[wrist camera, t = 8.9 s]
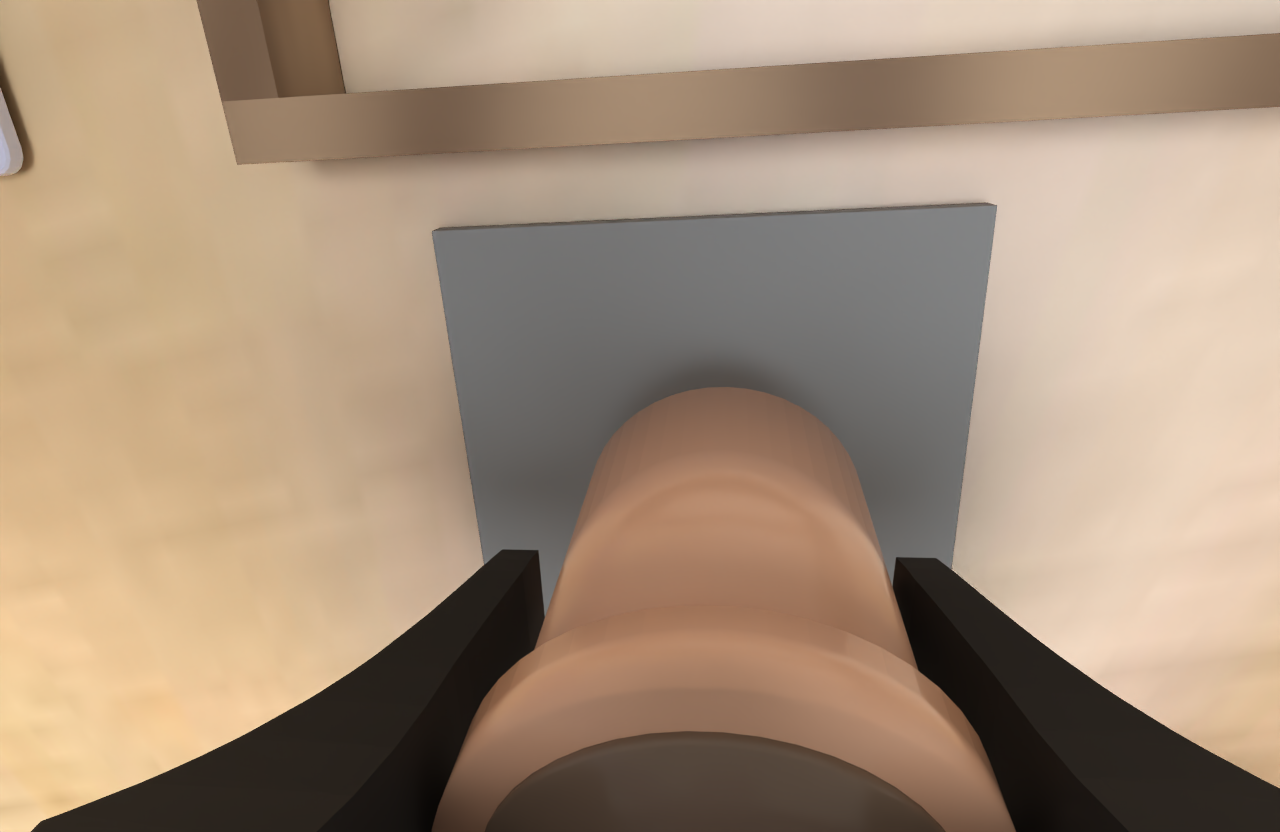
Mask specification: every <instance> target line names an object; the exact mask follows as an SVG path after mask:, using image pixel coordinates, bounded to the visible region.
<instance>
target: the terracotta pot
mask: <svg viewBox="0 0 1280 832" xmlns="http://www.w3.org/2000/svg"><path fill="white" fill-rule="evenodd" d="M432 832H1016V830H1015V827H1014V825H1013V822H1012V819H1011V817H1010V814H1009V811H1008V809H1007V806H1006V803H1005V801H1004V798H1003V795H1002V792H1001V790H1000V787H999V784H998V782H997V779H996V776H995V774H994V771H993V768H992V766H991V763H990V760H989V758H988V756H987V754H986V751H985V749H984V747H983V745H982V743H981V740H980V738H979V736H978V734H977V733H976V731H975V730H974V728H973V727H972V726H971V724H970V723H969V721H968V720H967V718H966V717H965V715H964V714H963V712H962V711H961V710H960V709H959V708H958V707H957V706H956V705H955V704H954V702H953V701H952V700H951V699H950V698H949V697H948V696H947V695H946V694H945V693H944V692H943V691H942V690H941V689H940V688H939V687H938V686H937V685H936V684H934V683H933V682H932V681H930V680H929V679H928V678H927V677H925V676H924V675H923V674H922V673H920V672H919V671H918V668H917V664H916V661H915V658H914V655H913V652H912V648H911V645H910V642H909V639H908V635H907V632H906V629H905V626H904V623H903V619H902V616H901V613H900V610H899V607H898V603H897V600H896V597H895V594H894V590H893V587H892V584H891V581H890V578H889V574H888V571H887V568H886V565H885V561H884V558H883V555H882V552H881V549H880V545H879V542H878V539H877V536H876V533H875V529H874V526H873V523H872V520H871V516H870V513H869V510H868V507H867V504H866V500H865V497H864V494H863V491H862V487H861V484H860V481H859V478H858V475H857V471H856V469H855V467H854V464H853V462H852V460H851V458H850V456H849V454H848V452H847V451H846V449H845V448H844V446H843V445H842V443H841V442H840V440H839V439H838V438H837V437H836V436H835V435H834V434H833V432H832V431H831V430H830V429H829V428H828V427H827V426H826V425H824V424H823V423H822V422H821V421H820V420H819V419H817V418H816V417H815V416H813V415H812V414H810V413H809V412H807V411H806V410H804V409H803V408H801V407H800V406H798V405H795V404H793V403H791V402H789V401H787V400H785V399H783V398H780V397H777V396H774V395H771V394H768V393H765V392H760V391H756V390H751V389H746V388H734V387H710V388H702V389H695V390H689V391H685V392H682V393H678V394H675V395H671V396H669V397H666V398H664V399H662V400H659V401H657V402H655V403H653V404H651V405H649V406H648V407H646V408H644V409H642V410H641V411H639V412H638V413H636V414H635V415H634V416H632V417H631V418H630V419H629V420H627V421H626V422H625V423H624V424H623V425H622V426H621V427H620V428H619V429H618V430H617V431H616V432H615V433H614V434H613V436H612V437H611V438H610V440H609V441H608V443H607V444H606V445H605V447H604V449H603V451H602V452H601V454H600V456H599V458H598V460H597V463H596V466H595V469H594V472H593V475H592V478H591V481H590V484H589V487H588V490H587V493H586V496H585V499H584V502H583V505H582V508H581V511H580V514H579V517H578V520H577V523H576V526H575V529H574V532H573V535H572V538H571V541H570V544H569V547H568V550H567V553H566V556H565V559H564V562H563V565H562V568H561V571H560V574H559V577H558V580H557V583H556V586H555V589H554V592H553V595H552V598H551V601H550V604H549V607H548V610H547V613H546V616H545V619H544V622H543V625H542V628H541V631H540V634H539V637H538V640H537V643H536V646H535V649H534V651H532V652H531V653H529V654H528V655H526V656H525V657H523V658H522V659H520V660H519V661H518V662H517V663H516V664H515V665H514V666H512V667H511V668H510V669H509V670H508V671H507V672H506V673H505V674H504V675H503V676H501V677H500V678H499V679H498V681H497V682H496V683H495V685H494V686H493V687H492V688H491V690H490V691H489V692H488V694H487V695H486V696H485V697H484V699H483V700H482V702H481V704H480V706H479V708H478V710H477V712H476V714H475V716H474V718H473V719H472V722H471V724H470V727H469V729H468V732H467V734H466V737H465V739H464V742H463V744H462V747H461V750H460V752H459V755H458V757H457V760H456V762H455V765H454V767H453V770H452V773H451V775H450V778H449V780H448V783H447V785H446V788H445V790H444V793H443V796H442V798H441V801H440V803H439V806H438V809H437V813H436V816H435V820H434V823H433V827H432Z"/></svg>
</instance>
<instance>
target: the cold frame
mask: <svg viewBox="0 0 1280 832" xmlns="http://www.w3.org/2000/svg"><path fill="white" fill-rule="evenodd" d="M197 4H198V8H199V12H200V16H201V20H202V24H203V28H204V32H205V36H206V40H207V44H208V48H209V52H210V56H211V60H212V64H213V68H214V72H215V76H216V81H217V85H218V89H219V93H220V97H221V101H222V105H223V109H224V113H225V117H226V121H227V125H228V129H229V133H230V137H231V141H232V145H233V149H234V153H235V157H236V161H237V165H241V164H259V163H276V162H294V161H312V160H330V159H348V158H366V157H384V156H402V155H420V154H438V153H456V152H474V151H492V150H510V149H528V148H546V147H564V146H582V145H600V144H618V143H636V142H654V141H672V140H690V139H708V138H726V137H744V136H762V135H780V134H797V133H815V132H833V131H851V130H869V129H887V128H905V127H923V126H941V125H959V124H977V123H995V122H1013V121H1031V120H1049V119H1067V118H1085V117H1103V116H1121V115H1139V114H1157V113H1175V112H1193V111H1211V110H1229V109H1247V108H1265V107H1280V33H1278V34H1262V35H1247V36H1231V37H1216V38H1200V39H1185V40H1169V41H1154V42H1138V43H1123V44H1107V45H1092V46H1076V47H1060V48H1045V49H1029V50H1014V51H998V52H983V53H967V54H952V55H936V56H921V57H905V58H890V59H874V60H859V61H843V62H828V63H812V64H797V65H781V66H766V67H750V68H735V69H719V70H704V71H688V72H673V73H657V74H641V75H626V76H610V77H595V78H579V79H564V80H548V81H533V82H517V83H502V84H486V85H471V86H455V87H440V88H424V89H409V90H393V91H378V92H362V93H347V94H345V90H344V84H343V79H342V74H341V68H340V63H339V58H338V52H337V47H336V42H335V36H334V31H333V26H332V20H331V15H330V10H329V4H328V0H197Z"/></svg>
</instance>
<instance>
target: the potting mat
mask: <svg viewBox="0 0 1280 832" xmlns="http://www.w3.org/2000/svg"><path fill="white" fill-rule="evenodd" d="M996 211H997V205H993V204H990V203H973V204H952V205H930V206H908V207H886V208H864V209H842V210H820V211H798V212H777V213H755V214H733V215H711V216H689V217H667V218H645V219H624V220H602V221H580V222H558V223H536V224H514V225H492V226H471V227H449V228H439V229H436V230H433V231H432V236H433V242H434V249H435V255H436V261H437V268H438V274H439V281H440V287H441V293H442V300H443V306H444V312H445V319H446V325H447V331H448V338H449V344H450V350H451V357H452V363H453V370H454V376H455V382H456V389H457V395H458V401H459V408H460V414H461V420H462V427H463V433H464V439H465V446H466V452H467V459H468V465H469V471H470V478H471V484H472V490H473V497H474V503H475V509H476V516H477V522H478V528H479V535H480V541H481V548H482V554H483V560H484V565H485V564H486V563H487V562H488V561H489V560H490V559H491V558H493V557H494V556H495V555H496V554H497V553H499V552H500V551H501V550H502V549H510V550H539V561H540V572H541V582H542V593H543V603H544V614H545V616H546V613H547V610H548V607H549V604H550V601H551V598H552V595H553V592H554V589H555V586H556V583H557V580H558V577H559V574H560V571H561V568H562V565H563V562H564V559H565V556H566V553H567V550H568V547H569V544H570V541H571V538H572V535H573V532H574V529H575V526H576V523H577V520H578V517H579V514H580V511H581V508H582V505H583V502H584V499H585V496H586V493H587V490H588V487H589V484H590V481H591V478H592V475H593V472H594V469H595V466H596V463H597V460H598V458H599V456H600V454H601V452H602V451H603V449H604V447H605V445H606V444H607V443H608V441H609V440H610V438H611V437H612V436H613V434H614V433H615V432H616V431H617V430H618V429H619V428H620V427H621V426H622V425H623V424H624V423H625V422H626V421H627V420H629V419H630V418H631V417H632V416H634V415H635V414H636V413H638V412H639V411H641V410H642V409H644V408H646V407H648V406H649V405H651V404H653V403H655V402H657V401H659V400H662V399H664V398H666V397H669V396H671V395H675V394H678V393H682V392H685V391H689V390H695V389H702V388H710V387H734V388H746V389H751V390H756V391H760V392H765V393H768V394H771V395H774V396H777V397H780V398H783V399H785V400H787V401H789V402H791V403H793V404H795V405H798V406H800V407H801V408H803V409H804V410H806V411H807V412H809V413H810V414H812V415H813V416H815V417H816V418H817V419H819V420H820V421H821V422H822V423H823V424H824V425H826V426H827V427H828V428H829V429H830V430H831V431H832V432H833V434H834V435H835V436H836V437H837V438H838V439H839V440H840V442H841V443H842V445H843V446H844V448H845V449H846V451H847V452H848V454H849V456H850V458H851V460H852V462H853V464H854V467H855V469H856V471H857V475H858V478H859V481H860V484H861V487H862V491H863V494H864V497H865V500H866V504H867V507H868V510H869V513H870V516H871V520H872V523H873V526H874V529H875V533H876V536H877V539H878V542H879V545H880V549H881V552H882V555H883V558H884V561H885V565H886V568H887V571H888V574H889V578H890V581H891V584H892V585H893V577H894V569H895V561H896V557H915V558H937V559H938V560H940V561H941V562H942V563H943V564H945V565H946V566H947V567H949V568H950V569H951V567H952V559H953V551H954V543H955V536H956V528H957V520H958V512H959V504H960V496H961V488H962V480H963V472H964V464H965V456H966V448H967V440H968V433H969V425H970V417H971V409H972V401H973V393H974V385H975V377H976V369H977V361H978V353H979V345H980V337H981V330H982V322H983V314H984V306H985V298H986V290H987V282H988V274H989V266H990V258H991V250H992V242H993V235H994V227H995V219H996Z"/></svg>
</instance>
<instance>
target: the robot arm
mask: <svg viewBox="0 0 1280 832" xmlns="http://www.w3.org/2000/svg"><path fill="white" fill-rule="evenodd" d="M22 163H23V153H22V148H21V145H20V142H19V140H18V137H17V134H16V131H15V128H14V125H13V122H12V120H11V117H10V114H9V111H8V108H7V105H6V102H5V100H4V97H3V94H2V91H1V88H0V176H6V175H11V174H15V173H17V172H18V171H19V169H20V168H21V167H22ZM892 587H893V590H894V594H895V597H896V600H897V603H898V607H899V610H900V613H901V616H902V619H903V623H904V626H905V629H906V632H907V635H908V639H909V642H910V645H911V648H912V652H913V655H914V658H915V661H916V664H917V668H918V671H919V672H920V673H922V674H923V675H924V676H925V677H927V678H928V679H929V680H930V681H932V682H933V683H934V684H936V685H937V686H938V687H939V688H940V689H941V690H942V691H943V692H944V693H945V694H946V695H947V696H948V697H949V698H950V699H951V700H952V701H953V702H954V704H955V705H956V706H957V707H958V708H959V709H960V710H961V711H962V712H963V714H964V715H965V717H966V718H967V720H968V721H969V723H970V724H971V726H972V727H973V728H974V730H975V731H976V733H977V734H978V736H979V738H980V740H981V743H982V745H983V747H984V749H985V751H986V754H987V756H988V758H989V760H990V763H991V766H992V768H993V771H994V774H995V776H996V779H997V782H998V784H999V787H1000V790H1001V792H1002V795H1003V798H1004V801H1005V803H1006V806H1007V809H1008V811H1009V814H1010V817H1011V819H1012V822H1013V825H1014V827H1015V830H1016V832H1280V788H1278V787H1276V786H1274V785H1272V784H1270V783H1268V782H1266V781H1264V780H1262V779H1260V778H1258V777H1256V776H1254V775H1252V774H1251V773H1249V772H1247V771H1245V770H1243V769H1241V768H1239V767H1237V766H1236V765H1234V764H1232V763H1230V762H1228V761H1226V760H1224V759H1222V758H1221V757H1219V756H1217V755H1215V754H1213V753H1211V752H1209V751H1207V750H1206V749H1204V748H1202V747H1200V746H1199V745H1197V744H1195V743H1193V742H1191V741H1190V740H1188V739H1186V738H1184V737H1183V736H1181V735H1179V734H1177V733H1176V732H1174V731H1172V730H1171V729H1169V728H1167V727H1166V726H1164V725H1163V724H1161V723H1159V722H1158V721H1156V720H1154V719H1153V718H1151V717H1150V716H1148V715H1146V714H1145V713H1143V712H1142V711H1140V710H1138V709H1137V708H1135V707H1133V706H1132V705H1130V704H1129V703H1127V702H1125V701H1124V700H1122V699H1121V698H1119V697H1118V696H1116V695H1115V694H1113V693H1112V692H1110V691H1108V690H1107V689H1105V688H1104V687H1102V686H1101V685H1100V684H1098V683H1097V682H1095V681H1094V680H1092V679H1091V678H1090V677H1088V676H1087V675H1085V674H1084V673H1082V672H1081V671H1080V670H1078V669H1077V668H1075V667H1074V666H1073V665H1071V664H1070V663H1068V662H1067V661H1066V660H1064V659H1063V658H1061V657H1060V656H1059V655H1057V654H1056V653H1055V652H1053V651H1052V650H1051V649H1049V648H1048V647H1047V646H1045V645H1044V644H1043V643H1041V642H1040V641H1039V640H1037V639H1036V638H1035V637H1033V636H1032V635H1031V634H1030V633H1028V632H1027V631H1026V630H1024V629H1023V628H1022V627H1021V626H1019V625H1018V624H1017V623H1016V622H1014V621H1013V620H1012V619H1011V618H1009V617H1008V616H1007V615H1006V614H1004V613H1003V612H1002V611H1001V610H1000V609H998V608H997V607H996V606H995V605H993V604H992V603H991V602H990V601H989V600H987V599H986V598H985V597H984V596H983V595H981V594H980V593H979V592H978V591H977V590H975V589H974V588H973V587H972V586H970V585H969V584H968V583H967V582H966V581H964V580H963V579H962V578H961V577H960V576H958V575H957V574H956V573H955V572H954V571H952V570H951V569H950V568H949V567H947V566H946V565H945V564H943V563H942V562H941V561H940V560H938V559H937V558H915V557H896V561H895V569H894V577H893V585H892ZM544 619H545V614H544V603H543V593H542V582H541V572H540V561H539V550H510V549H502V550H501V551H500V552H499V553H497V554H496V555H495V556H494V557H493V558H491V559H490V560H489V561H488V562H487V563H486V564H485V565H484V566H482V567H481V568H480V569H479V570H478V571H477V572H476V573H475V574H474V575H472V576H471V577H470V578H469V579H468V580H467V581H466V582H465V583H464V584H462V585H461V586H460V587H459V588H458V589H457V590H456V591H454V592H453V593H452V594H451V595H450V596H449V597H447V598H446V599H445V600H444V601H443V602H442V603H440V604H439V605H438V606H437V607H436V608H435V609H434V610H432V611H431V612H430V613H429V614H428V615H426V616H425V617H424V618H423V619H422V620H420V621H419V622H418V623H416V624H415V625H414V626H413V627H411V628H410V629H409V630H407V631H406V632H405V633H404V634H402V635H401V636H400V637H398V638H397V639H396V640H395V641H393V642H392V643H391V644H389V645H388V646H387V647H386V648H384V649H383V650H382V651H380V652H379V653H378V654H376V655H375V656H374V657H372V658H371V659H369V660H368V661H367V662H365V663H364V664H362V665H361V666H359V667H358V668H356V669H355V670H354V671H352V672H351V673H349V674H348V675H346V676H344V677H343V678H341V679H340V680H338V681H337V682H335V683H334V684H332V685H330V686H329V687H327V688H326V689H324V690H323V691H321V692H320V693H318V694H316V695H315V696H313V697H311V698H310V699H308V700H306V701H305V702H303V703H301V704H299V705H297V706H296V707H294V708H292V709H290V710H288V711H287V712H285V713H283V714H281V715H279V716H278V717H276V718H274V719H272V720H270V721H269V722H267V723H265V724H263V725H261V726H260V727H258V728H256V729H254V730H252V731H251V732H249V733H247V734H245V735H243V736H241V737H239V738H237V739H235V740H233V741H231V742H229V743H227V744H225V745H223V746H221V747H219V748H217V749H215V750H213V751H211V752H209V753H207V754H204V755H202V756H200V757H198V758H196V759H194V760H191V761H189V762H187V763H185V764H183V765H180V766H178V767H176V768H174V769H172V770H169V771H167V772H165V773H163V774H160V775H158V776H156V777H153V778H151V779H149V780H146V781H144V782H142V783H139V784H137V785H134V786H132V787H129V788H126V789H124V790H121V791H119V792H116V793H114V794H111V795H109V796H106V797H103V798H101V799H98V800H96V801H93V802H91V803H88V804H86V805H83V806H80V807H78V808H75V809H73V810H70V811H68V812H65V813H62V814H60V815H57V816H54V817H51V818H49V819H46V820H43V821H41V822H40V823H39V824H38V825H37V826H36V827H35V828H34V829H33V830H32V831H31V832H432V827H433V823H434V820H435V816H436V813H437V809H438V806H439V803H440V801H441V798H442V796H443V793H444V790H445V788H446V785H447V783H448V780H449V778H450V775H451V773H452V770H453V767H454V765H455V762H456V760H457V757H458V755H459V752H460V750H461V747H462V744H463V742H464V739H465V737H466V734H467V732H468V729H469V727H470V724H471V722H472V719H473V718H474V716H475V714H476V712H477V710H478V708H479V706H480V704H481V702H482V700H483V699H484V697H485V696H486V695H487V694H488V692H489V691H490V690H491V688H492V687H493V686H494V685H495V683H496V682H497V681H498V679H499V678H500V677H501V676H503V675H504V674H505V673H506V672H507V671H508V670H509V669H510V668H511V667H512V666H514V665H515V664H516V663H517V662H518V661H519V660H520V659H522V658H523V657H525V656H526V655H528V654H529V653H531V652H532V651H534V649H535V646H536V643H537V640H538V637H539V634H540V631H541V628H542V625H543V622H544Z"/></svg>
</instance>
